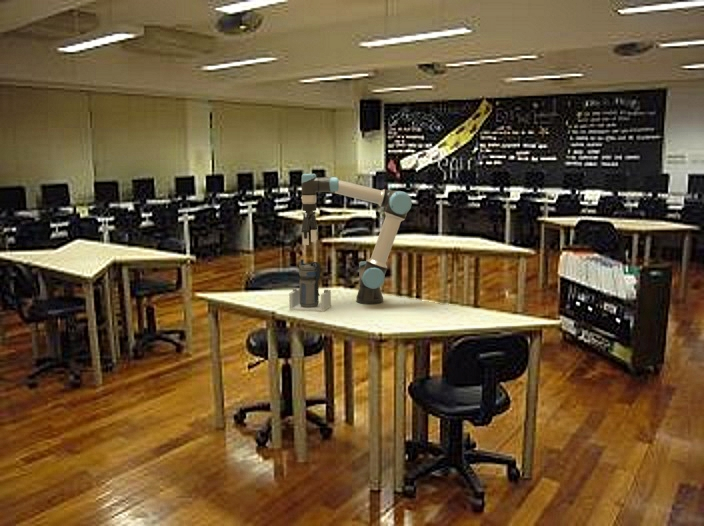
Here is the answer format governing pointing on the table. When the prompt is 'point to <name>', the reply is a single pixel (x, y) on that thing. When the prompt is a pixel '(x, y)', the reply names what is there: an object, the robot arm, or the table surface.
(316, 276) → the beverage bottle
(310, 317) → the table surface
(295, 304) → the holder
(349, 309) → the table surface
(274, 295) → the table surface
